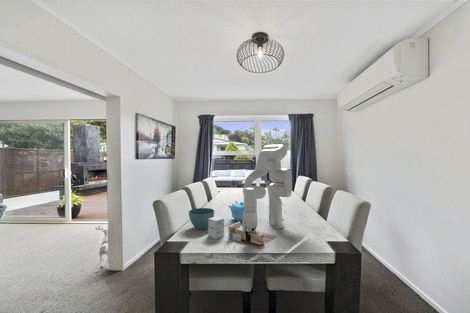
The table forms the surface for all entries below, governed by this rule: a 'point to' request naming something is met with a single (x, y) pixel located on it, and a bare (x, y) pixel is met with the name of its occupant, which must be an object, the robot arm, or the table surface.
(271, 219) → the robot arm
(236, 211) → the teakettle
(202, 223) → the teal bowl
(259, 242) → the rail
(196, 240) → the table surface
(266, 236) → the board
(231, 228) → the bracket
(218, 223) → the supplement box
